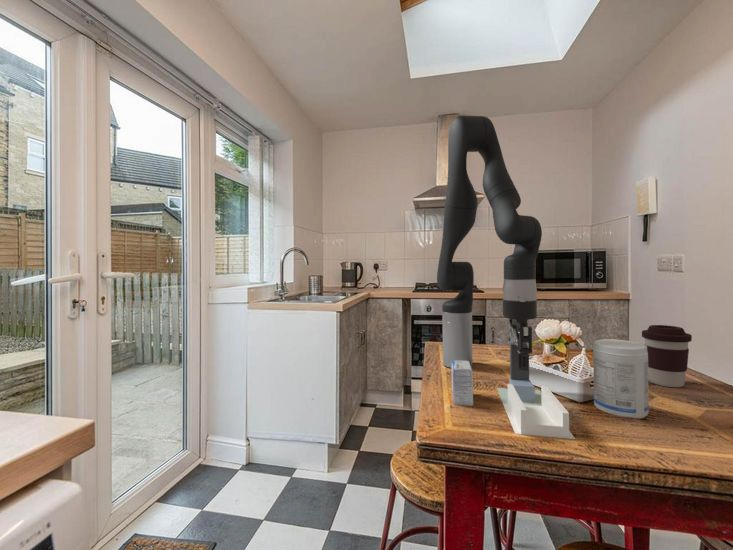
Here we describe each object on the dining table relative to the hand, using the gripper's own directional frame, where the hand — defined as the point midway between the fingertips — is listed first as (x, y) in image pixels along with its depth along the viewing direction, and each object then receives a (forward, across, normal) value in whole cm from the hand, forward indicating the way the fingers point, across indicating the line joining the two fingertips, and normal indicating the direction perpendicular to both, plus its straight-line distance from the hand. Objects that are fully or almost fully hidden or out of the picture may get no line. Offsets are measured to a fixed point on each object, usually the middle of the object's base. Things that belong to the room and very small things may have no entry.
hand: (519, 365), depth 84 cm
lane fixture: (+8, +9, 0) cm, 12 cm away
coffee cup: (+8, -17, +39) cm, 43 cm away
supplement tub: (+8, +5, +19) cm, 21 cm away
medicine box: (+8, +6, -14) cm, 17 cm away
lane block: (+7, +2, 0) cm, 7 cm away
